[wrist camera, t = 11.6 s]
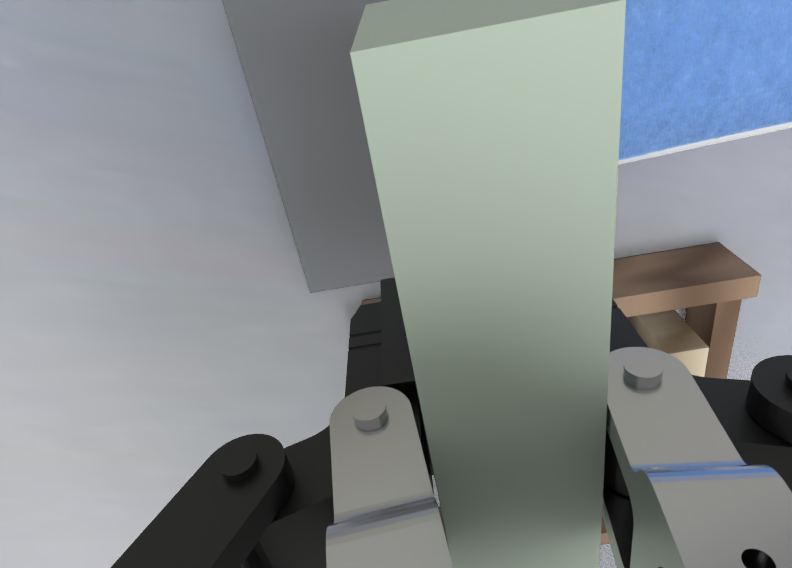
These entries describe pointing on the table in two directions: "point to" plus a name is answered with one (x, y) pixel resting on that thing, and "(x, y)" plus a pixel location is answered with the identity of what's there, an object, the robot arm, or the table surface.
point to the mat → (315, 132)
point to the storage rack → (685, 297)
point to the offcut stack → (673, 338)
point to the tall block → (503, 254)
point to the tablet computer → (703, 73)
